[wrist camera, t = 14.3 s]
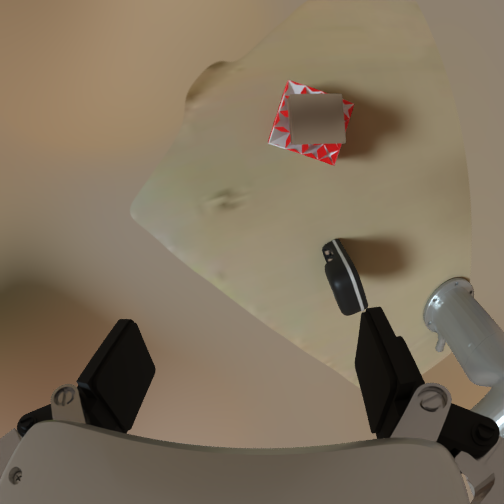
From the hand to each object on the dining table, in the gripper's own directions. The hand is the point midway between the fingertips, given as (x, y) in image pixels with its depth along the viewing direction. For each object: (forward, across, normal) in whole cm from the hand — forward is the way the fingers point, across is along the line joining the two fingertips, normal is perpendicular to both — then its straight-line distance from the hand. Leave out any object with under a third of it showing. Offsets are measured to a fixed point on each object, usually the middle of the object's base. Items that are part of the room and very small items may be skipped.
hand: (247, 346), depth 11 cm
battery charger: (+32, -9, +12) cm, 35 cm away
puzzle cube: (+32, -6, -9) cm, 34 cm away
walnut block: (+24, -6, -9) cm, 26 cm away
